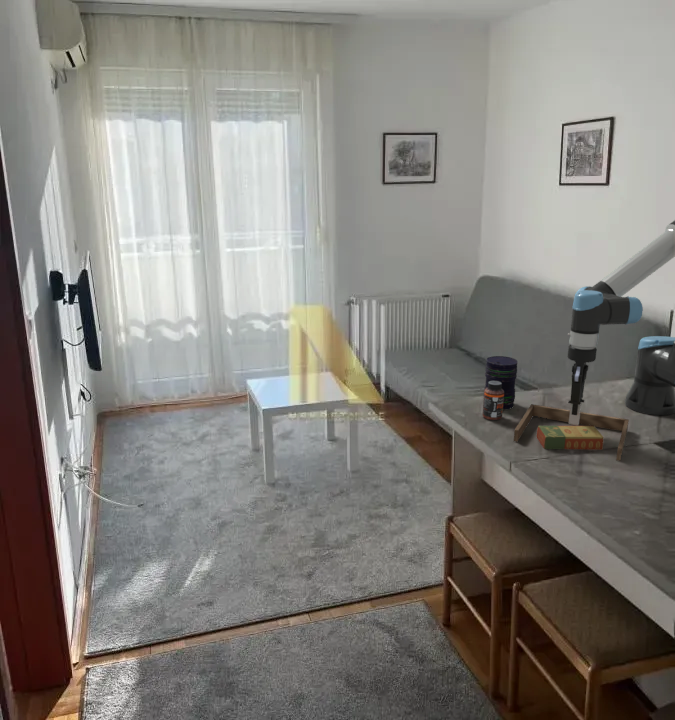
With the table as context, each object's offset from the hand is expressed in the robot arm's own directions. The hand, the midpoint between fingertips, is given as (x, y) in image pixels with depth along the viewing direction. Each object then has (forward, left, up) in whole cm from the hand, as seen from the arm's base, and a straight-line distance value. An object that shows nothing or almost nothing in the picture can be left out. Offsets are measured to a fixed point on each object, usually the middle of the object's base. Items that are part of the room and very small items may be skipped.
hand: (573, 423), depth 196 cm
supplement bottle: (+24, 0, -3) cm, 24 cm away
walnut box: (0, +4, -2) cm, 4 cm away
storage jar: (+25, -12, -3) cm, 28 cm away
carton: (0, +9, -3) cm, 10 cm away
